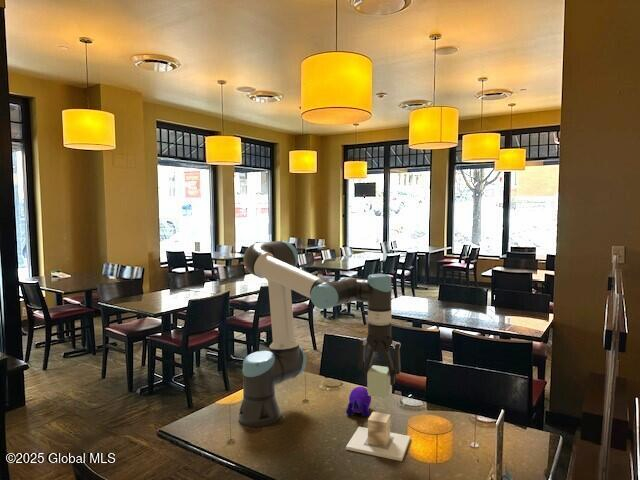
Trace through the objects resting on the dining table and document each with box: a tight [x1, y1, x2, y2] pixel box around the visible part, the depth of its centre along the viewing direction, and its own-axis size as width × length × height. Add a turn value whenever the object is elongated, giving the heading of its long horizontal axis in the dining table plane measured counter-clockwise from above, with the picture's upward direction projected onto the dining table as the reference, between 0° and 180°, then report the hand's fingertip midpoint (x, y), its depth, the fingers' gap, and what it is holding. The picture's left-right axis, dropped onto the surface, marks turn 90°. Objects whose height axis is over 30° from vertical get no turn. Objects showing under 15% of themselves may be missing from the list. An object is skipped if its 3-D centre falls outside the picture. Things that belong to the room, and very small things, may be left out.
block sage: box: [368, 364, 389, 399], centre depth 143 cm, size 6×6×8 cm
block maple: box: [367, 411, 391, 447], centre depth 144 cm, size 6×6×8 cm
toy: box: [345, 386, 372, 418], centre depth 167 cm, size 9×10×15 cm
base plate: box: [345, 426, 412, 462], centre depth 145 cm, size 18×14×1 cm
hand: (379, 392), depth 143 cm, fingers closed on block sage, 6 cm apart
